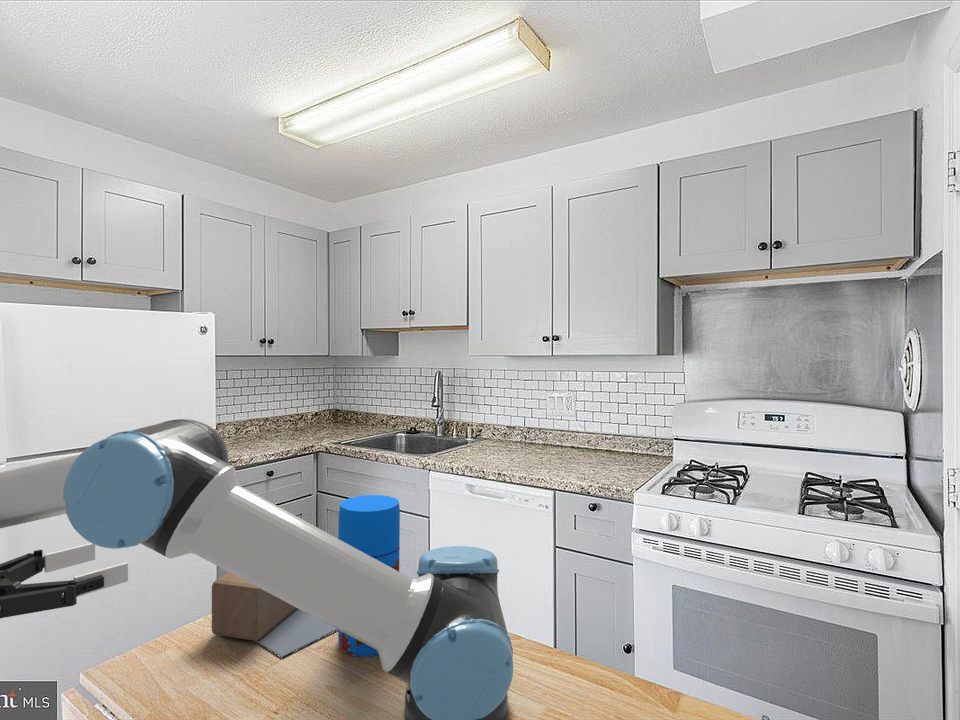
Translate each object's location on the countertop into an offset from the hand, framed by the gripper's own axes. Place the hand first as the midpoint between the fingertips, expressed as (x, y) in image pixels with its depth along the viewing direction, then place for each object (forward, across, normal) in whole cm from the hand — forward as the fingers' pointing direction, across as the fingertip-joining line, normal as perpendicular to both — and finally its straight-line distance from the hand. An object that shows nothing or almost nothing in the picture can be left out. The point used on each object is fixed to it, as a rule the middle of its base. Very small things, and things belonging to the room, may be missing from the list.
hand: (110, 560), depth 84 cm
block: (+17, +5, -14) cm, 22 cm away
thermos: (+33, +23, -20) cm, 45 cm away
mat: (+30, +7, -19) cm, 36 cm away
